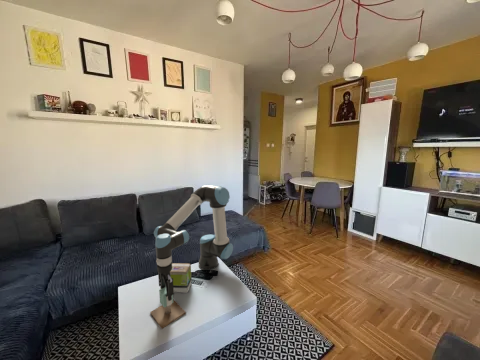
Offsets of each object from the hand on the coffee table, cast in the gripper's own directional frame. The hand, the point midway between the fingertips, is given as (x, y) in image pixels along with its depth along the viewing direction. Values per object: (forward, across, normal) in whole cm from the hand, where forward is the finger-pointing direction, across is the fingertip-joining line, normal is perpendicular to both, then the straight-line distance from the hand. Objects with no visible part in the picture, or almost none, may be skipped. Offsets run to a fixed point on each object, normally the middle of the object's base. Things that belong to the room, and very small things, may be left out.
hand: (166, 301), depth 115 cm
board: (+8, 0, 0) cm, 8 cm away
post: (+8, 0, 0) cm, 8 cm away
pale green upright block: (0, 0, 0) cm, 0 cm away
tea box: (+8, -15, +15) cm, 23 cm away
